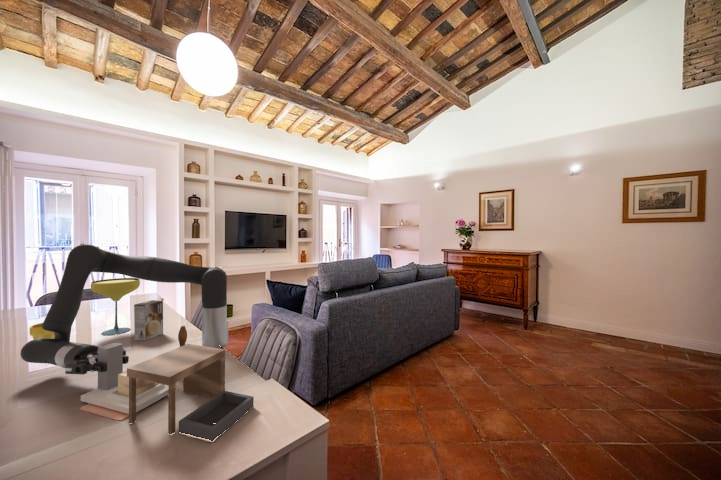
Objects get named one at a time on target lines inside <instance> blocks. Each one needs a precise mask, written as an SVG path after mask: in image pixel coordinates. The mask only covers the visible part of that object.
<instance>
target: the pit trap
mask: <svg viewBox="0 0 721 480" xmlns="http://www.w3.org/2000/svg"><path fill="white" fill-rule="evenodd" d="M254 398H255V397H254V396H251V395H248V394H243V393H238V392H233V391H227V390H225V391H222V392H221V393H219V394H218V395H217V396H215V397H214V398H210V399H209V400H208V401H206V402H205V403H204V404H202V405H200V406H199V407H197V408H196V409H194V410H193V411H191V412H190V413H189V414H187V415H186V416H185V417H183V418H181V419H180V420H179V421H178V433H179V432H181V433H185V434H190V435H193V436H196V437H201V438H205V439H209V440H211V441H213V440H214V439H215V438H216V437H217V436H219V435H220V434H222V433H223V432H224V431H225V430H227V429H228V428H229V429H231V428H232V427H233V426H234V425H235V424H236V423H237V422H238V421H237V420H239V419H240V418H241V417H242V416H243V415H244V414H245V413H246V412H247V411H249V410H250V409H251V408H252V407H253V408H254ZM253 408H252V409H253ZM252 409H251V410H252ZM251 410H250V411H251ZM250 411H249V412H250ZM244 416H245V415H244ZM244 416H243V417H244ZM243 417H242V418H243ZM242 418H241V419H242ZM241 419H240V420H241ZM236 421H237V422H236ZM235 422H236V423H235ZM213 423H216V424H213ZM234 423H235V424H234ZM233 424H234V425H233ZM232 425H233V426H232ZM231 426H232V427H231ZM230 427H231V428H230ZM229 429H228V430H229ZM228 430H227V431H228Z"/></svg>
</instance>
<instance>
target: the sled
mask: <svg viewBox="0 0 721 480" xmlns="http://www.w3.org/2000/svg"><path fill="white" fill-rule="evenodd" d="M123 347H124V345H123V343H118V342H111V343H108V344H105V345H101V346H98V362H100V363H105V364H107V371H106V372H97V388H95V389H93V390H91V391H87V392H85V393H84V394H81V395H80V402H83V403H86V404H94V405H97V406H101V407H105V408H108V409H112V410H116V411H119V412H123V413H127V414H129V397H125V396H121V395H118V374H121V373H123V372H124V370H123V366H124V364H123V349H124V348H123ZM165 397H168V385H164V384H160V383H155V387H153V388H151V389H149V390H147V391H145V392H143V393H141V394H139V395H137V396H136V413H137V412H140V411H141V410H144V409H145V408H146V407H149V406H150V405H153V404H155V403H156V402H158V401H159V400H161V399H163V398H165Z"/></svg>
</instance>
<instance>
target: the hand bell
mask: <svg viewBox="0 0 721 480" xmlns="http://www.w3.org/2000/svg"><path fill="white" fill-rule="evenodd" d="M177 337H178V338H177V339H178V343H179V347H181V346H184V345H186V342H187V338H188V331H187V329H186V326H185V325H182V326H180V329H179V331H178V334H177Z"/></svg>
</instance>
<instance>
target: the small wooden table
mask: <svg viewBox="0 0 721 480" xmlns="http://www.w3.org/2000/svg"><path fill="white" fill-rule="evenodd" d="M126 371H127V377H129V417H128V424H129V423H133V424H135V423H136V422H137V412H136V378H137V379H141V380H146V381H150V382H155V383H160V384H164V385H168V395H167V397H168V400H167V401H168V402H167V403H168V405H167V407H168V409H167V410H168V411H167V412H168V414H167V415H168V418H167V420H168V422H167V429H168V431H167V433H169V434H172V433H174V432H175V433H176V404H177V403H176V401H177V400H176V399H177V398H176V396H177V395H176V391H177V390H176V388H177V387H176V386H177V384H176V383H177V382H179V381H181V380H182V382H183V383H182V386H183V387H182V389H183V390H182V392H183V393H185V394H191V395H195V396H199V397H204V398H208V399H212V398H214V397H215V396H217V395H218V394H219V393H221V392H222V391H226V349H223V348H221V349H219V348H212V347H206V346H202V345H199V344H191V343H187V344H186V343H185V345H184V346H181V347H180V346H179V347H177V348H174V349H171V350H169V351H166V352H163V353H162V354H159V355H157V356H154V357H151V358H149V359H146V360H144V361H142V362H139V363H137V364H133V365H132V366H130V367H129V366H128V367H127V368H126ZM135 421H136V422H135ZM134 422H135V423H134Z"/></svg>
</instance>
